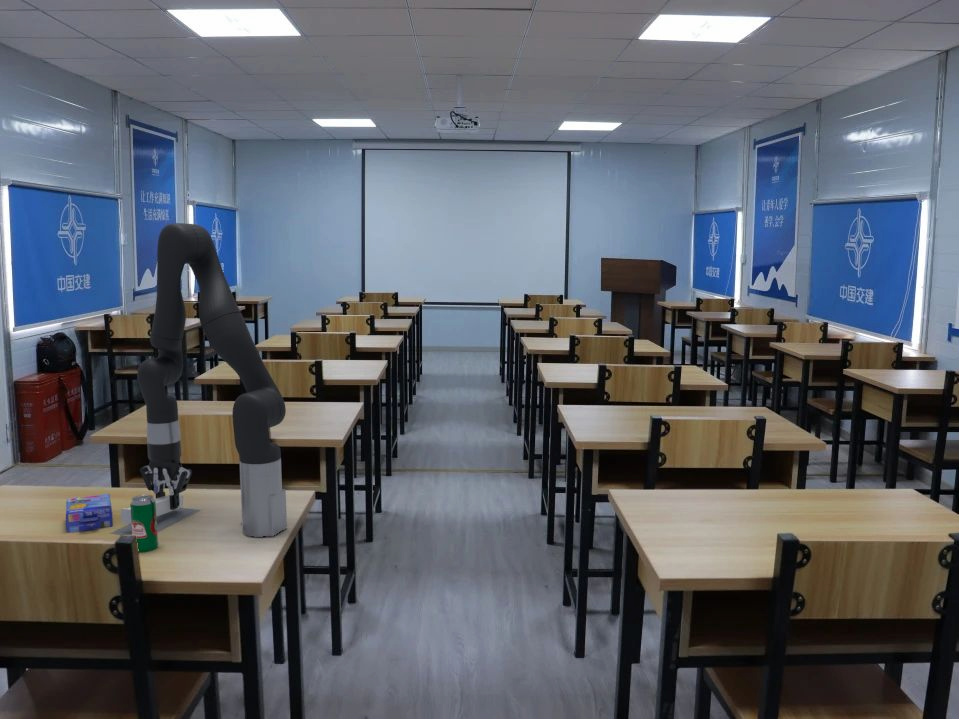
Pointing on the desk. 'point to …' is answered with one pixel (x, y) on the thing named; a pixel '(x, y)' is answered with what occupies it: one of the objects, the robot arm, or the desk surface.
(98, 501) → the ink cartridge box
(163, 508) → the white square rod
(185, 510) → the mat
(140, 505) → the soda can
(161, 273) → the robot arm
